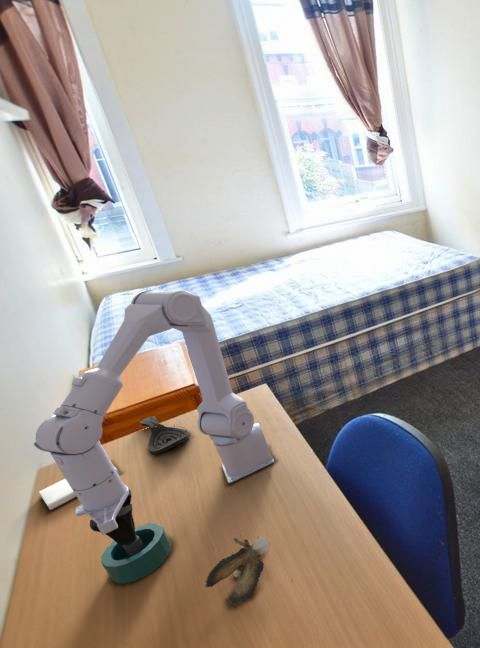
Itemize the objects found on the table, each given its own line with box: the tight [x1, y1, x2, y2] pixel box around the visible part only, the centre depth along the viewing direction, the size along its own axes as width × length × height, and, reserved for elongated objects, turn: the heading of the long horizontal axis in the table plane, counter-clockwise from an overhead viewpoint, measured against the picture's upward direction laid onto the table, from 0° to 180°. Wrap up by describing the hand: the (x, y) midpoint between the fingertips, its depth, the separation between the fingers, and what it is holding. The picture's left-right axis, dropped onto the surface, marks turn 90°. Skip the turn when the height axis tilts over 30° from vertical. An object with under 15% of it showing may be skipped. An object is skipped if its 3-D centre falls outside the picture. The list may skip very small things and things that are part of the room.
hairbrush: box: [139, 415, 191, 455], centre depth 120 cm, size 8×4×25 cm
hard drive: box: [38, 464, 120, 511], centre depth 106 cm, size 2×8×12 cm
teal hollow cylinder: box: [100, 523, 172, 584], centre depth 84 cm, size 9×9×4 cm
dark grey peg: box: [123, 534, 145, 557], centre depth 83 cm, size 2×2×11 cm
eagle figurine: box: [204, 536, 271, 606], centre depth 79 cm, size 8×7×9 cm
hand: (128, 537), depth 83 cm, fingers closed on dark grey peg, 2 cm apart
